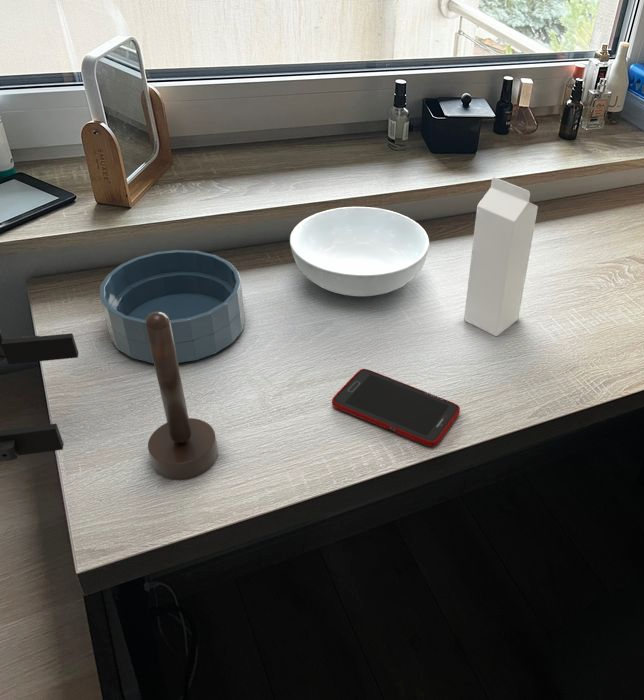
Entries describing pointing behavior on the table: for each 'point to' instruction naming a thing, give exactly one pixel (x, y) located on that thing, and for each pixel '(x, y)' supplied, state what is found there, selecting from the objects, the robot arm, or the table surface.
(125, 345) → the mixing bowl
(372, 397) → the cell phone
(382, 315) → the table surface
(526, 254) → the milk
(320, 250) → the serving bowl
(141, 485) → the table surface
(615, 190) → the table surface
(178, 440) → the paper towel holder
